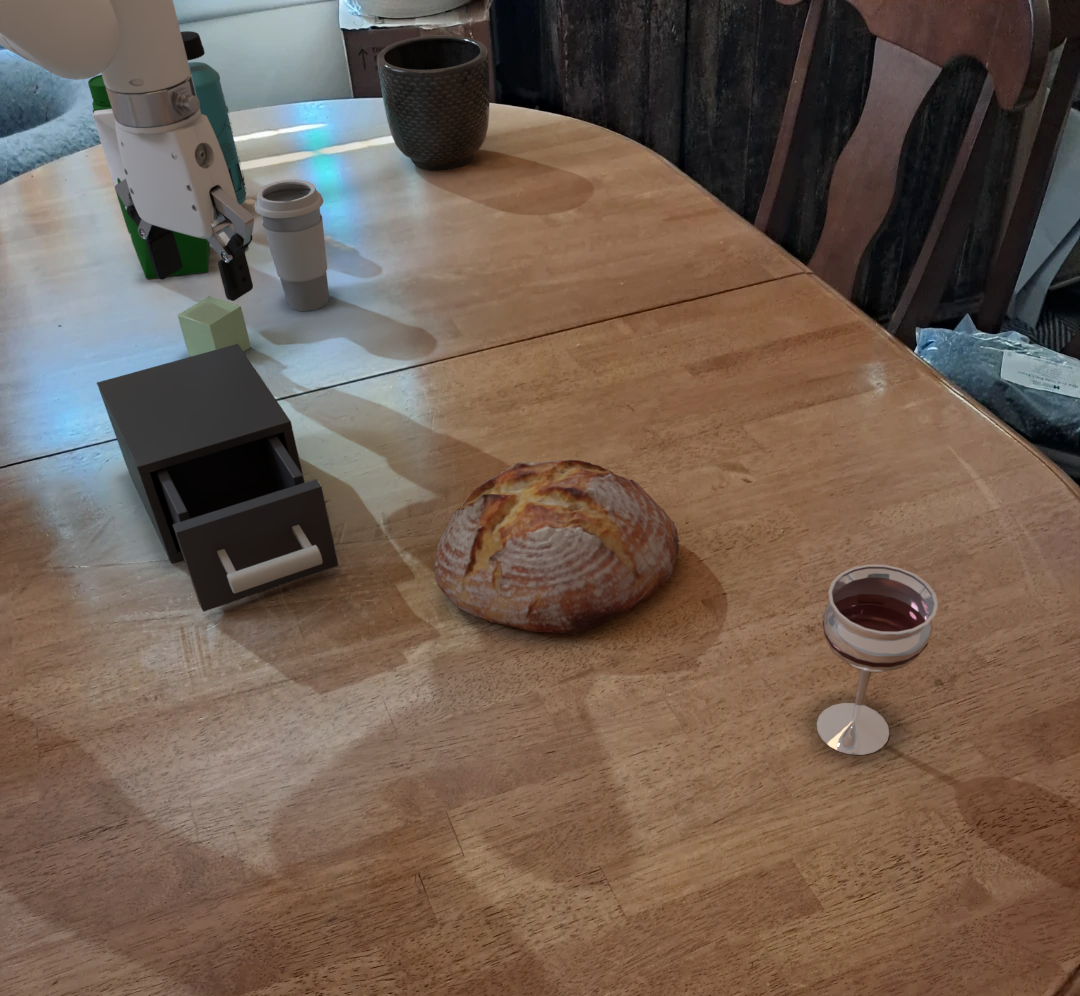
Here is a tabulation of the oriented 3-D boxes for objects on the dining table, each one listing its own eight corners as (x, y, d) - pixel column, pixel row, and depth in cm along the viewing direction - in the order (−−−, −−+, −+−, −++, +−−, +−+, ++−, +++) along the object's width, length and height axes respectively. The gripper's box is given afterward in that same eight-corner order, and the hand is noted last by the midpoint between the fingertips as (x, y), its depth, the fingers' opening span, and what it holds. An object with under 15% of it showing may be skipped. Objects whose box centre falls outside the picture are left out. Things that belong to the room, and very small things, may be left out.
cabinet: (312, 517, 100) (290, 421, 93) (171, 563, 97) (136, 467, 90) (261, 436, 109) (237, 343, 102) (130, 476, 106) (96, 382, 99)
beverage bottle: (226, 227, 142) (182, 47, 127) (187, 216, 144) (140, 39, 130) (262, 207, 145) (223, 30, 131) (223, 197, 148) (181, 22, 133)
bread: (411, 563, 97) (392, 458, 90) (619, 496, 102) (616, 392, 95) (486, 675, 86) (470, 566, 79) (715, 594, 91) (720, 484, 84)
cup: (277, 319, 125) (252, 208, 116) (274, 291, 129) (250, 182, 121) (343, 310, 126) (323, 199, 117) (337, 283, 130) (318, 174, 121)
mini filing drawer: (359, 598, 91) (343, 519, 85) (220, 648, 88) (193, 568, 82) (286, 482, 102) (267, 404, 97) (160, 521, 99) (133, 444, 93)
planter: (516, 156, 153) (510, 48, 144) (440, 190, 147) (428, 79, 137) (444, 131, 160) (435, 27, 151) (368, 163, 153) (353, 56, 144)
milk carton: (143, 250, 138) (88, 68, 124) (219, 242, 139) (173, 59, 124) (137, 284, 132) (79, 96, 118) (217, 275, 133) (169, 87, 118)
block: (188, 356, 120) (176, 314, 117) (219, 336, 123) (208, 295, 120) (220, 367, 118) (209, 325, 115) (251, 347, 121) (241, 305, 118)
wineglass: (903, 700, 82) (938, 570, 73) (901, 771, 78) (939, 641, 69) (807, 688, 83) (830, 558, 75) (800, 757, 79) (824, 627, 70)
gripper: (254, 101, 102) (294, 286, 114) (118, 73, 108) (170, 251, 121) (194, 132, 97) (242, 320, 110) (57, 100, 104) (117, 281, 117)
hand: (204, 283), depth 115 cm, fingers open, 9 cm apart
